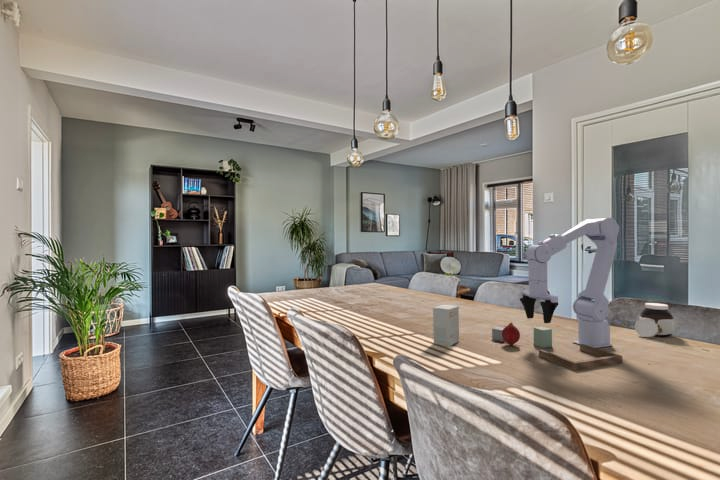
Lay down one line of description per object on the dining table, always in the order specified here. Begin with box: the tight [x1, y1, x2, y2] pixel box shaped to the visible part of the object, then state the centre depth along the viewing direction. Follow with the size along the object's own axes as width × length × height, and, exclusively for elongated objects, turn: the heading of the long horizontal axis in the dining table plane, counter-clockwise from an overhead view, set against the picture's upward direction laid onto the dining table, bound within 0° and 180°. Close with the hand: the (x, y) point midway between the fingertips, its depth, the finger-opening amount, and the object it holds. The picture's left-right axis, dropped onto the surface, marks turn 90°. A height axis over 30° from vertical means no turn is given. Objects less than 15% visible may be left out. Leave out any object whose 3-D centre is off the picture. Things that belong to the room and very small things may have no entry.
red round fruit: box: [502, 321, 521, 346], centre depth 127 cm, size 6×6×8 cm
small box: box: [432, 304, 460, 347], centre depth 131 cm, size 8×6×13 cm
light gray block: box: [491, 326, 505, 342], centre depth 135 cm, size 4×4×4 cm
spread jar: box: [634, 302, 675, 338], centre depth 137 cm, size 12×11×12 cm
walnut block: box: [538, 344, 623, 371], centre depth 112 cm, size 18×13×2 cm
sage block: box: [533, 326, 553, 349], centre depth 126 cm, size 4×4×6 cm
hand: (538, 320), depth 124 cm, fingers open, 7 cm apart
